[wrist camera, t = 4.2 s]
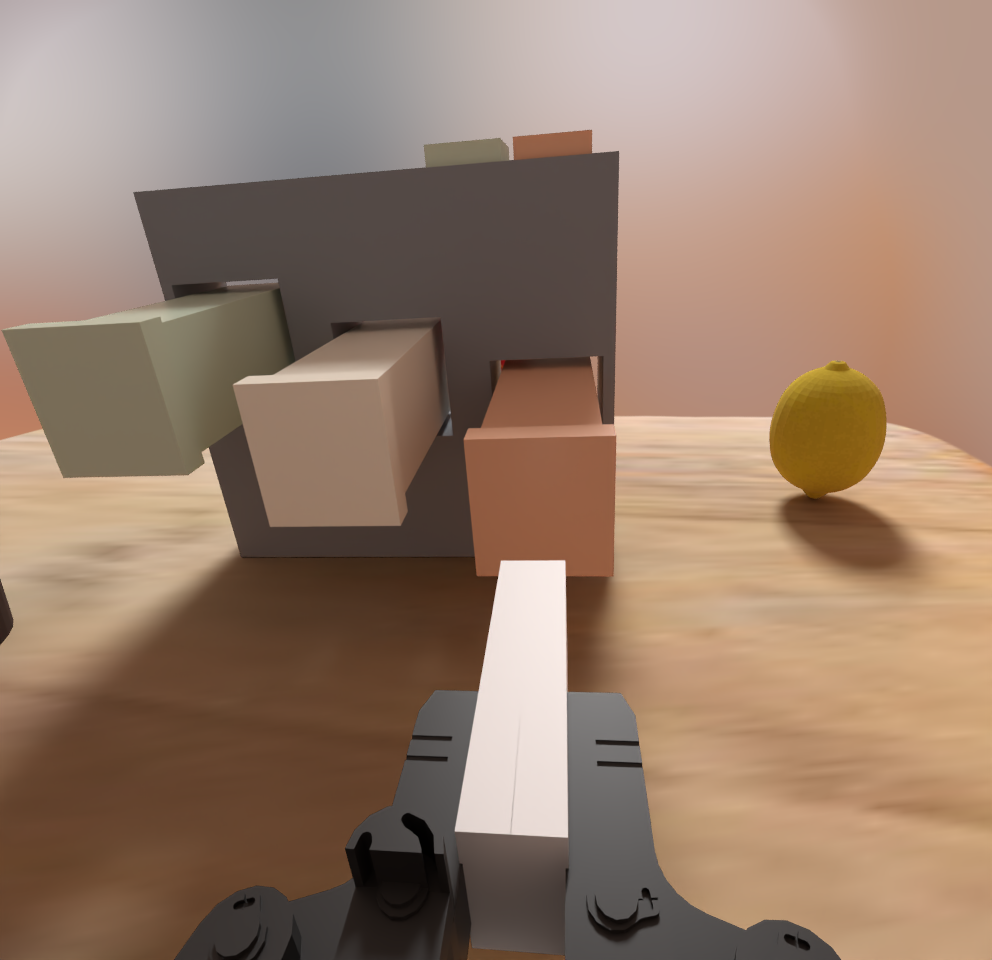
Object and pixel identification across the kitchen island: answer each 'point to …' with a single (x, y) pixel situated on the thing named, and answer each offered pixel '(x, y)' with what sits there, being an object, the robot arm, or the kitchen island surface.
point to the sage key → (150, 378)
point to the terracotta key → (543, 470)
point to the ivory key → (347, 424)
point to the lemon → (828, 429)
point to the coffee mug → (4, 616)
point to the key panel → (411, 295)
